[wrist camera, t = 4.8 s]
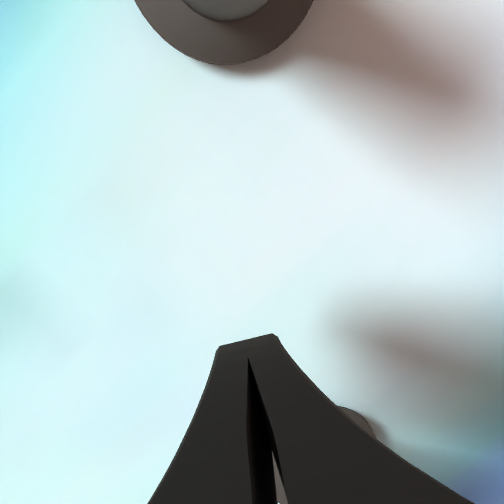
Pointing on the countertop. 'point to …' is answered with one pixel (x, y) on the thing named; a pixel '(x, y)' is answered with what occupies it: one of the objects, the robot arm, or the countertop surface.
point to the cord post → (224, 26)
